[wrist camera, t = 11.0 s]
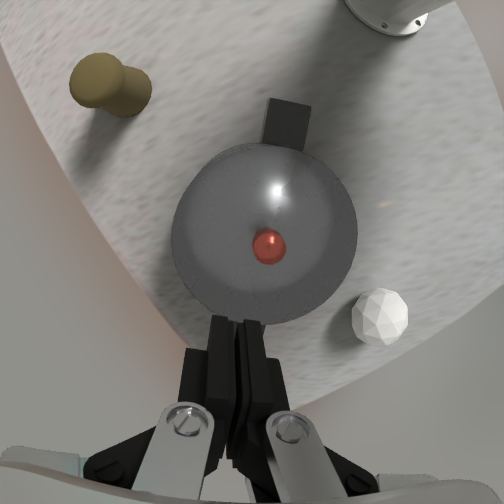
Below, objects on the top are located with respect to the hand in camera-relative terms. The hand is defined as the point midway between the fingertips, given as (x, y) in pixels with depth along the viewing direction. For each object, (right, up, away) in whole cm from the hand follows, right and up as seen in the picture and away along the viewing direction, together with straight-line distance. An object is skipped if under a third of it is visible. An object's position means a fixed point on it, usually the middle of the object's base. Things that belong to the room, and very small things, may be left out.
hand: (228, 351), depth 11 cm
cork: (-13, +22, +21) cm, 33 cm away
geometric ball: (+17, -4, +32) cm, 37 cm away
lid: (+2, +5, +17) cm, 18 cm away
